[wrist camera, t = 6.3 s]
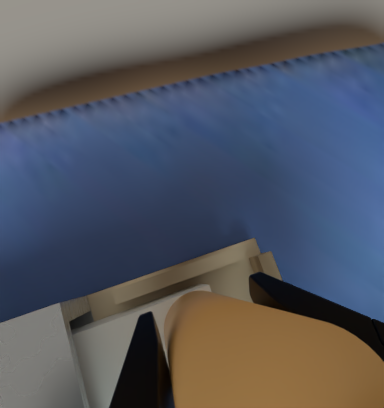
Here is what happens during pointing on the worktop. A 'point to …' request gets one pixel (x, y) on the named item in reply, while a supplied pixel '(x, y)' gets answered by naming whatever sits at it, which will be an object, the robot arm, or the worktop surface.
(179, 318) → the orange upright rod
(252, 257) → the cradle
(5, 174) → the worktop surface
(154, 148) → the worktop surface
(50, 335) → the socket
